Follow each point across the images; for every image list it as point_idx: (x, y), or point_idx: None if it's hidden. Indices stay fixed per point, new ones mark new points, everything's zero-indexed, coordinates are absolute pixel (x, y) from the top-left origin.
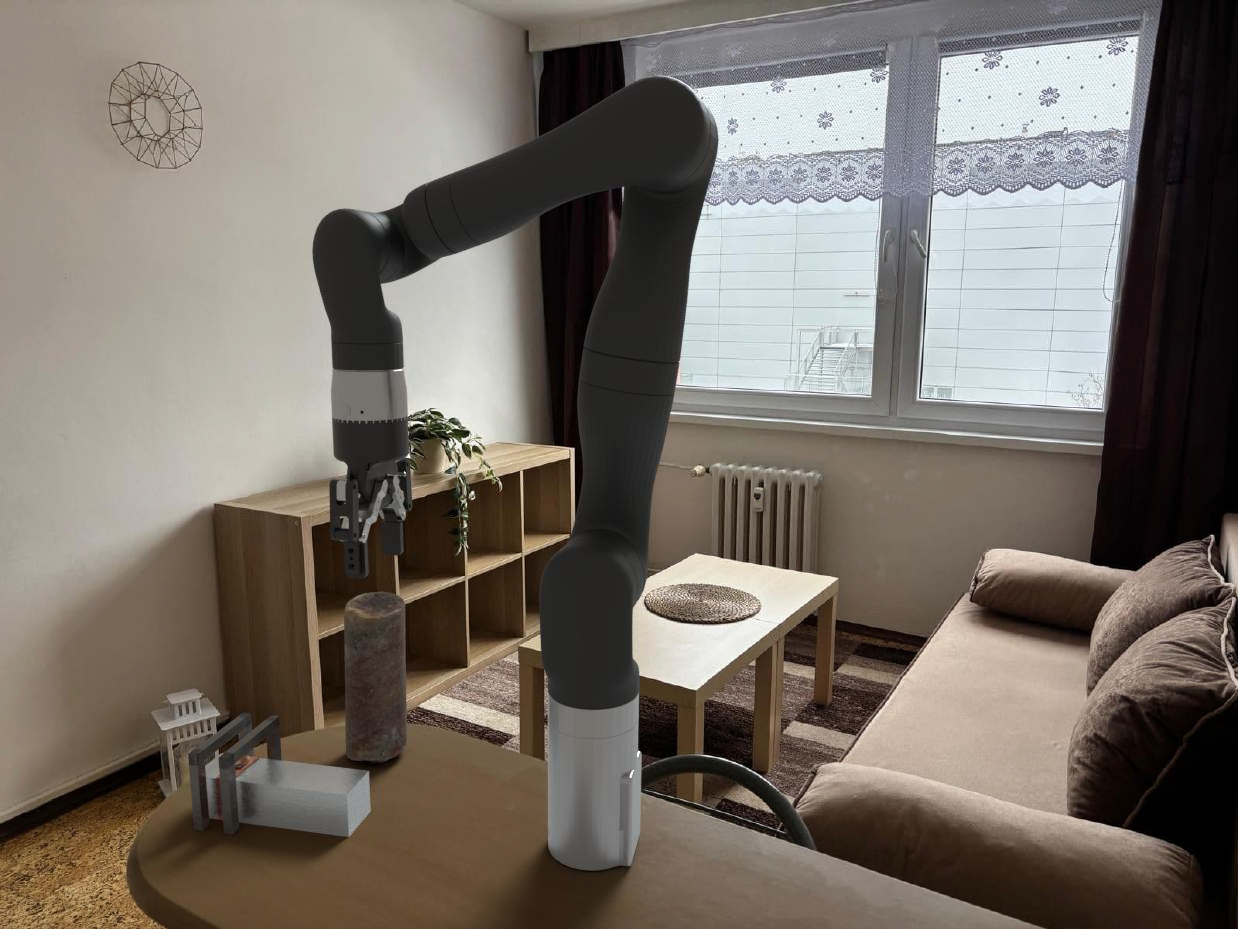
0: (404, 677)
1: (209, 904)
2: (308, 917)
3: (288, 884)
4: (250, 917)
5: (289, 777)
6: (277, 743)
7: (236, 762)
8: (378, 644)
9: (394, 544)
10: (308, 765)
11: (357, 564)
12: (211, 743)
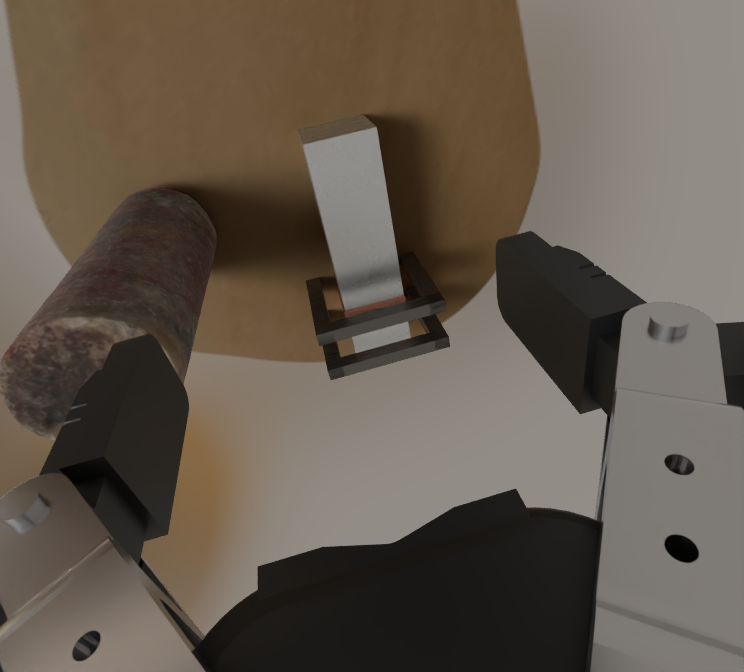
0: (103, 239)
1: (522, 174)
2: (520, 40)
3: (471, 116)
4: (532, 112)
5: (370, 240)
6: (320, 311)
7: None
8: (159, 295)
9: (153, 386)
10: (332, 241)
11: (596, 267)
12: (418, 346)
